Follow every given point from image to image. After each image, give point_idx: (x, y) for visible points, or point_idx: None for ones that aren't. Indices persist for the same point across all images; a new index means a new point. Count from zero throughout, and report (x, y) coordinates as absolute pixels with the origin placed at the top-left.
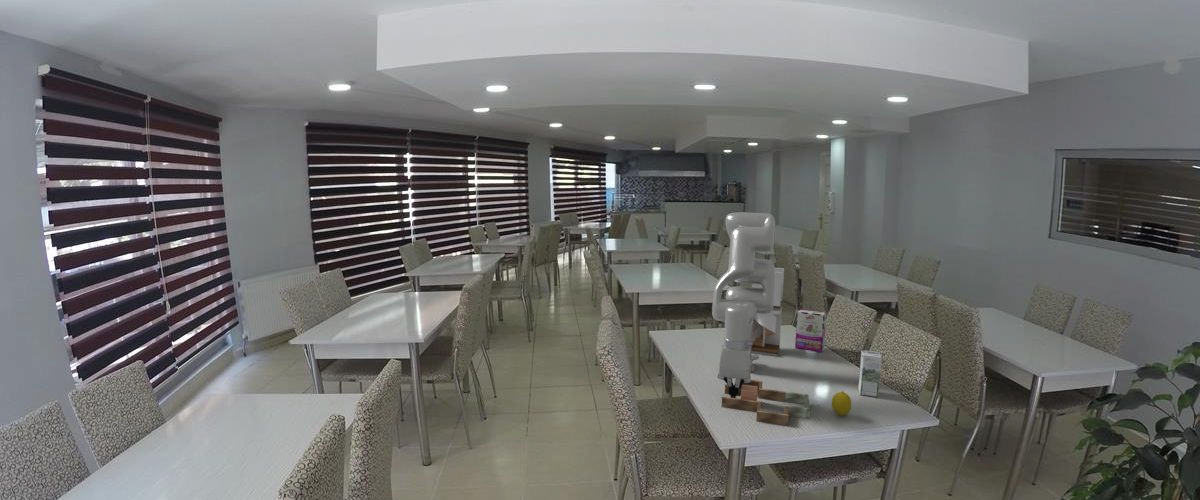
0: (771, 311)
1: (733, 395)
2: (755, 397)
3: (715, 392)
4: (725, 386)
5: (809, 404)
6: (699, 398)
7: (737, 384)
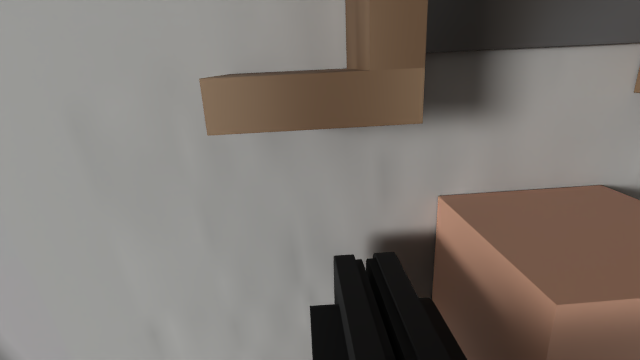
0: None
1: None
2: None
3: (114, 120)
4: (220, 128)
5: None
6: (16, 346)
7: None
